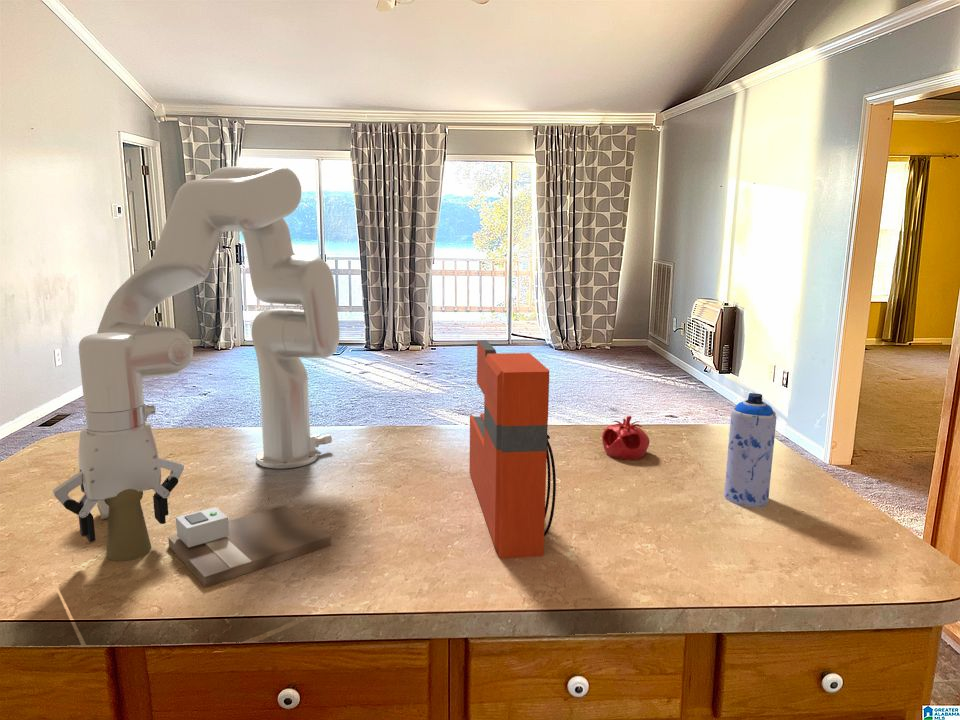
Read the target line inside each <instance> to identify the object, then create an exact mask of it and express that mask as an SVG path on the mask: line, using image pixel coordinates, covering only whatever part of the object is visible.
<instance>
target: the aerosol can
mask: <svg viewBox="0 0 960 720" xmlns="http://www.w3.org/2000/svg"><path fill="white" fill-rule="evenodd" d="M776 415H777V413H776V411H775V410H774V409H773V407H772V406H771V405H770V404H767V403H766V402H765V401H763V394H761V393H755V392H750V393H748V396H747V399H744V400H743V401H740V402H738V403H737V404H736V406H734V407H733V408H732V410H731V412H730V421H729V422H730V423H729V434H728V446H727V458H726V459H727V460H726V471H725V481H724V490H723V491H724V493H723V496H724V498H725V499H726V500H727V501H728V502H729V503H731V504H734V505H736V506H739V507H744V508H745V507H746V508H762V507H766V506H767V504H768V503H769V495H770V488H771V478H772V477H771V476H772V468H773V458H774V457H773V456H774V446H775V437H776V436H775V435H776V427H777V416H776Z"/></svg>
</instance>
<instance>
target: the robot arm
mask: <svg viewBox="0 0 960 720" xmlns="http://www.w3.org/2000/svg"><path fill="white" fill-rule="evenodd" d="M174 196H175V197H174V199H173V200H172V201H173V202H172V205H171V206H170V210H169V213H168V215H167V217H166V221H165V224H164V226H163V229H162V231H161V234H160V236H159V240H158V242H157V244H156V245H157V246H156V247H155V250H154V252H153V255H152V256H151V258H150V259H149V260H148V261H147V262H146V263H145V264H143V265H142V266H141V267H139V268H138V269H136V271H135V272H134V273H132V275H131V276H130V277H129V278H128V279H126V280H125V282H124V283H123V284H121V285H120V286H119V288H118V289H117V290H116V291H115V292H114V294H112V296H111V298H110V300H109V301H108V303H107V305H106V307H105V310H104V313H103V315H102V317H101V320H100V323H99V326H98V329H97V331H96V333H92V334H89V335H86V336H84V337H82V338H81V339H80V341H79V343H78V355H79V367H80V376H81V385H82V395H83V397H82V398H83V404H84V413H85V426H86V428H83V429H82V430H80V432H79V438H78V472H77V473H75V474H74V475H72V476H71V477H70V478H68V479H67V480H65V481H64V482H62V483H61V484H60V485H58V486H56V487H55V488H53V489H52V494H53V496H54V498H56V499H57V501H58V502H60V504H61V505H63V507H64V508H65V509H66V510H68V511H69V512H72V513H73V514H75V515H78V522H79V532H80V535H81V537H82V538H83V537H85V538H86V539H87V541H88V542H89V543H90V544H91V543H94V542H95V541H97V540H96V531H95V520H94V516H93V514H92V513H91V511H92V510H93V508H95V506H96V505H97V501H101V500H107V499H111V498H113V497H116V496H117V494H118V493H120V492H122V491H124V490H127V489H134V490H137V491H141V492H142V491H143V492H145V491H151V490H153V491H154V493H153V495H152V499H153V511H154V513H153V514H154V519H155V520H156V521H157V522H158V523H159V524H161V525H164V524H167V523H166V522H167V521H166V516H169V504H168V498H169V497H170V495H171V492H172V491H173V489H175V487H176V486H177V485H178V483H179V479H180V478H181V476H182V474H183V471H184V469H185V466H184V465H183V464H182V463H181V462H178V461H174V460H171V459H166V458H163V457H160V456H159V451H158V446H157V442H156V441H157V440H156V438H155V434H154V431H153V427H152V425H151V422H150V421H148V417H149V416H151V415H155V414H156V406H155V405H154V404H153V405H152V404H151V405H149V404H146V403H145V400H144V390H143V389H144V387H143V380H144V379H147V378H158V377H169V376H174V375H176V374H178V373H180V372H182V371H183V370H185V369H186V368H187V367H188V366H189V365H190V363H191V362H192V359H193V356H194V344H193V342H192V340H191V338H190V337H189V336H188V335H187V334H186V333H185V332H184V331H182V330H180V329H179V328H175V327H171V326H162V325H150V324H145V322H146V320H147V319H148V317H149V316H150V314H151V313H152V312H153V311H154V310H155V309H156V308H157V306H159V305H160V304H161V303H163V302H164V301H166V300H168V299H169V298H171V297H173V296H176V295H178V294H180V293H181V292H184V291H186V290H189V289H191V288H193V287H195V286H198V285H199V284H201V283H202V282H204V281H205V280H207V278H208V276H209V274H210V271H211V268H212V265H213V262H214V259H215V256H216V253H217V251H218V247H219V245H220V241H221V240H222V236H223V234H224V233H225V232H241V233H242V237H243V239H244V243H245V249H246V255H247V262H248V268H249V274H250V275H249V276H250V280H251V281H250V282H251V286H252V289H253V293H254V295H255V297H256V298H257V299H258V300H260V301H261V302H264V303H266V304H276V305H289V306H291V305H292V306H293V305H294V306H302V309H297V308H271V309H266V310H262V311H261V312H260V313H258V314H257V315H256V316H255V318H254V319H253V321H252V324H251V329H250V330H251V331H250V332H251V339H252V345H253V348H254V351H255V355H256V360H257V366H258V367H257V368H258V374H259V377H258V378H259V393H260V412H261V430H262V432H261V433H262V445H263V446H262V447H263V448H262V450H260V451H259V452H258V453H257V454H256V456H255V461H256V464H258V466H261V467H264V468H267V469H277V470H278V469H284V470H285V469H293V468H299V467H303V466H306V465H310V464H312V463H314V462H315V461H316V460H317V459H318V458H319V450H318V449H317V448H319V447H320V446H321V445H328V444H331V443H333V438H332V435H331V434H325V435H320V433H317V434H311V425H310V424H311V423H310V422H311V421H310V418H311V417H310V399H309V395H310V393H309V377H308V373H307V369H306V367H305V365H304V363H303V361H302V360H301V358H305V359H327V358H329V357H331V356H333V355H334V354H335V353H336V351H337V350H338V347H339V343H340V325H339V324H340V323H339V311H338V305H337V297H336V296H337V295H336V288H335V287H336V286H335V281H334V276H333V275H334V274H333V273H332V269H330V267H329V265H328V264H327V262H326V261H324V259H322V258H320V257H317V256H311V255H296V254H295V252H294V251H293V244H292V240H291V233H290V229H289V226H288V224H287V222H286V220H285V218H286V217H288V216H289V215H291V214H293V213H294V211H296V210H297V208H298V207H299V204H300V202H301V198H302V185H301V182H300V180H299V178H298V176H297V175H296V173H294V171H293V170H292V169H290V168H288V167H286V166H284V165H283V166H282V165H253V166H252V165H251V166H250V165H243V166H241V165H239V166H237V165H236V166H235V165H233V166H225V167H223V166H222V167H220V168H219V167H218V168H216V169H214V170H212V171H211V172H210V173H209V174H208V176H207V177H206V178H199V179H198V178H197V179H193V180H189V181H187V182H184V183H183V184H182V185H181V186H180V187H179V188H178V190H177V192H176V194H175V195H174ZM162 469H165V470H169V471H170V472H169V475H168V476H167V478H165V480H164V481H162ZM161 482H162V483H161ZM78 487H79V488H80V490H81V492H82V493H83V495H82V496H81V498H80V499H79V500H78V501H76V500H75V499H73V498H71V497H70V496H69V493H71V492H72V491H73V490H75V489H76V488H78Z"/></svg>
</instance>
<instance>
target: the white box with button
mask: <svg viewBox="0 0 960 720" xmlns="http://www.w3.org/2000/svg"><path fill="white" fill-rule="evenodd" d="M228 521H229V516H227V515H226V514H225V513H224V512H223V511H221V510H220V509H219V508H218V507H217V506H214V507H211V508H206V509H203V510H198V511H194V512H191V513H188V514H183V515H180V516H176V517H175V523H176V535H177V536H178V537H179V538H180V539H181V540H182V541H183V542H184V543H185V544H186V545H187V547H188V548H189V547H192V546H196V545H199V544H203V543H206V542H209V541H213V540H216V539H220V538H223V537H227V536H229V523H228Z"/></svg>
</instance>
